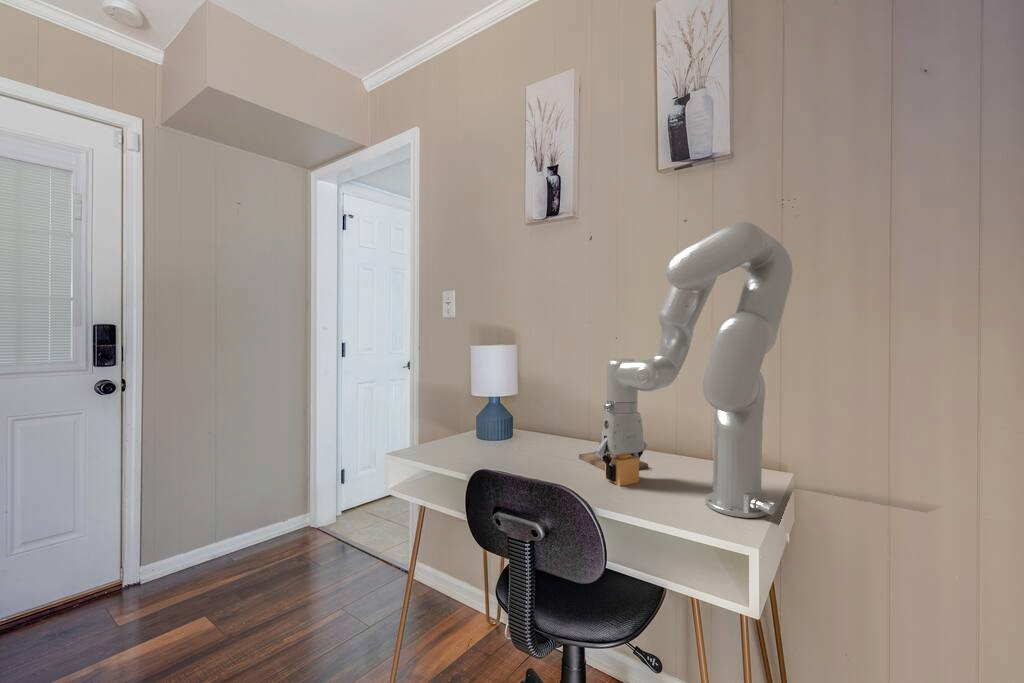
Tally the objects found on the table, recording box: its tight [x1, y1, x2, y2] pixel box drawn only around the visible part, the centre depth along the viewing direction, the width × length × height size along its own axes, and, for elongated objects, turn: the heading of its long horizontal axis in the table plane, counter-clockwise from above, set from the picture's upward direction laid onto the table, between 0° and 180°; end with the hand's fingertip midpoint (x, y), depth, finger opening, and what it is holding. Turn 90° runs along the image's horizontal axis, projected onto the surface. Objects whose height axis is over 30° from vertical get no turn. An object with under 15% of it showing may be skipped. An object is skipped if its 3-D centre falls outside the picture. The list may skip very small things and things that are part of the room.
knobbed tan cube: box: [604, 454, 640, 487], centre depth 118 cm, size 6×6×7 cm
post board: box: [578, 440, 649, 471], centre depth 133 cm, size 16×12×7 cm
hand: (621, 477), depth 118 cm, fingers closed on knobbed tan cube, 6 cm apart
